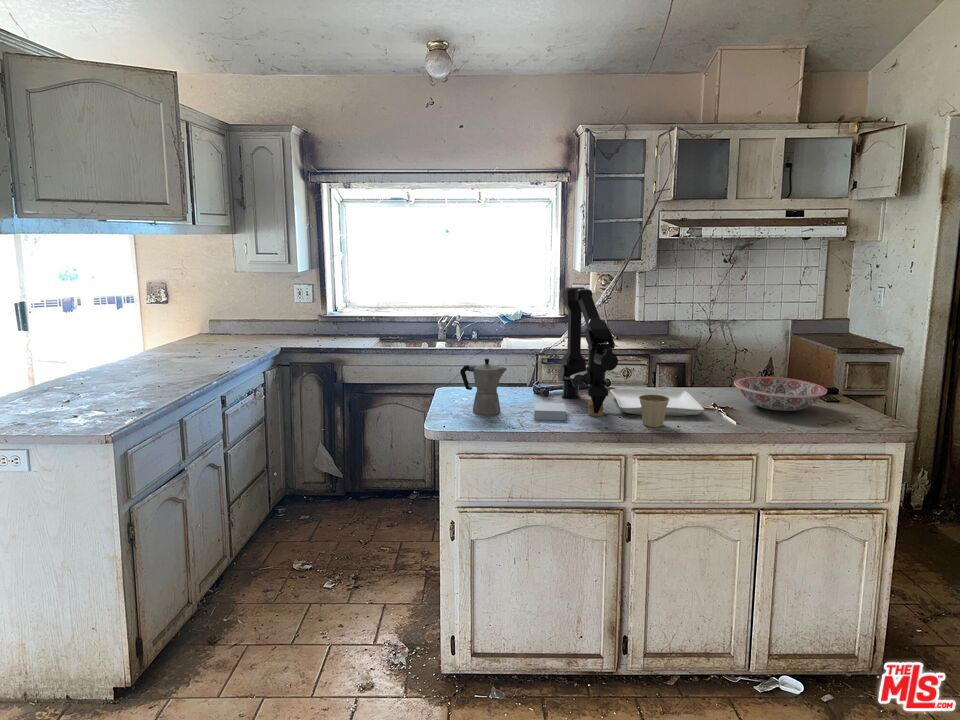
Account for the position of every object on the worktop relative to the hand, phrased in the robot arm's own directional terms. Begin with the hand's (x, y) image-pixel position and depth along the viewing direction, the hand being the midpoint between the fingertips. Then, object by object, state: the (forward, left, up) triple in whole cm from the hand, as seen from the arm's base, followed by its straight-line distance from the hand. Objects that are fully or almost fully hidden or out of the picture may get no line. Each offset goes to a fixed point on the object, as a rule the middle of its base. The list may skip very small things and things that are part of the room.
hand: (595, 410), depth 227 cm
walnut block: (0, 0, -1) cm, 1 cm away
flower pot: (+11, +17, -1) cm, 20 cm away
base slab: (+4, -15, -1) cm, 16 cm away
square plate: (-11, +21, -2) cm, 24 cm away
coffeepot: (+1, -37, -1) cm, 37 cm away
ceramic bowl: (-14, +63, -1) cm, 65 cm away
